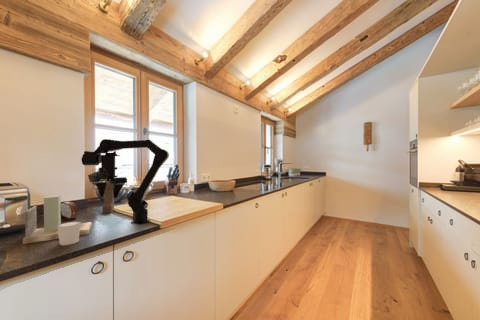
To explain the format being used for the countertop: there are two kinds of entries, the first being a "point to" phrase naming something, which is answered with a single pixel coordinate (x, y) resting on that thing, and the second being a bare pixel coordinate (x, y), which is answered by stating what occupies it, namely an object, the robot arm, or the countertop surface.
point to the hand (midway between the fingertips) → (108, 197)
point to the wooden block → (108, 199)
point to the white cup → (69, 233)
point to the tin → (68, 209)
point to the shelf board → (39, 234)
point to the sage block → (52, 213)
